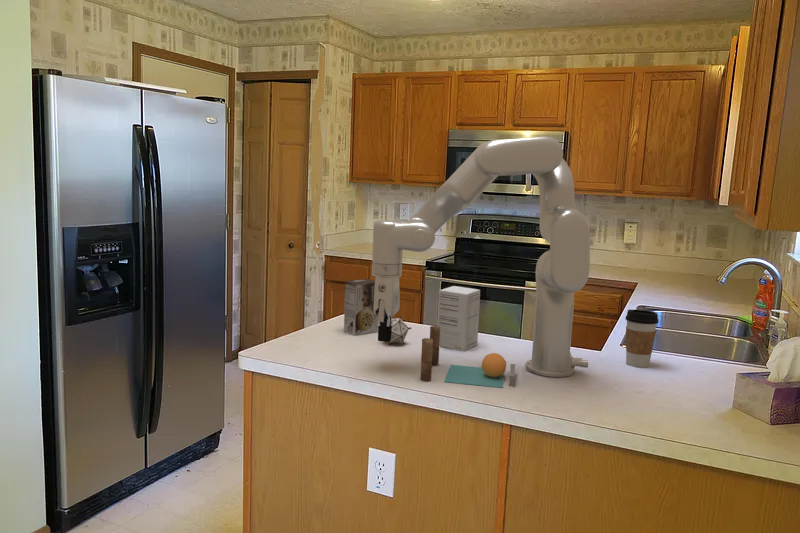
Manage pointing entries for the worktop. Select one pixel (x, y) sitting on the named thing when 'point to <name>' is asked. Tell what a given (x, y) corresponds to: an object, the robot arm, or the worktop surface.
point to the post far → (435, 344)
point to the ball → (493, 365)
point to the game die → (398, 330)
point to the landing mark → (472, 376)
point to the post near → (426, 359)
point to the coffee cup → (640, 337)
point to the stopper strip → (512, 375)
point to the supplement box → (458, 317)
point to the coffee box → (360, 307)
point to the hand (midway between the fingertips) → (384, 340)
